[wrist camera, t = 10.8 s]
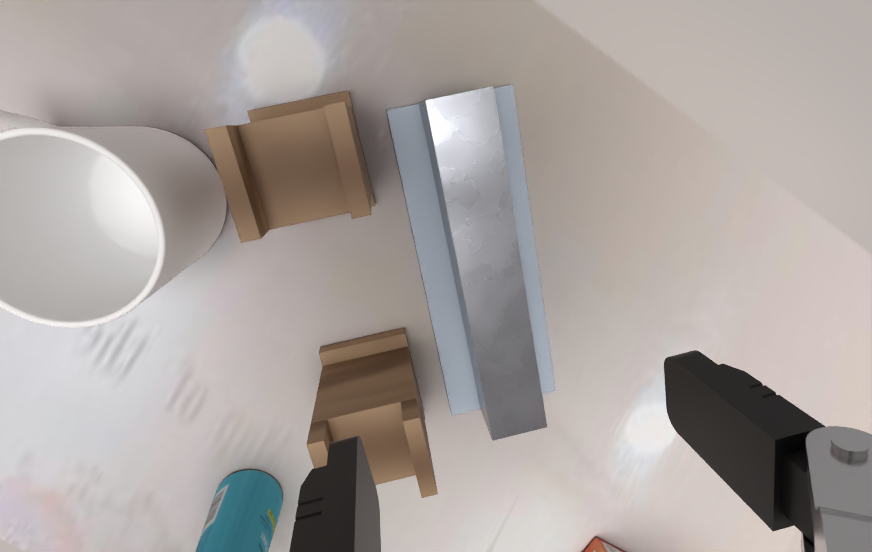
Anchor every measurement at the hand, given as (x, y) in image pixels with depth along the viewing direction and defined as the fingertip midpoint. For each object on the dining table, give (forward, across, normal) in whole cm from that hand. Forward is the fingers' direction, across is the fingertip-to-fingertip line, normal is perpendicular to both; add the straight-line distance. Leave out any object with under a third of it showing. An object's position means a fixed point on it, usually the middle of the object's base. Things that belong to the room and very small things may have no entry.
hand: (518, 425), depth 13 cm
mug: (+23, +17, -7) cm, 29 cm away
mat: (+22, -3, +3) cm, 23 cm away
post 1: (+22, +6, -6) cm, 24 cm away
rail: (+22, -3, +3) cm, 22 cm away
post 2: (+22, +6, +10) cm, 25 cm away
